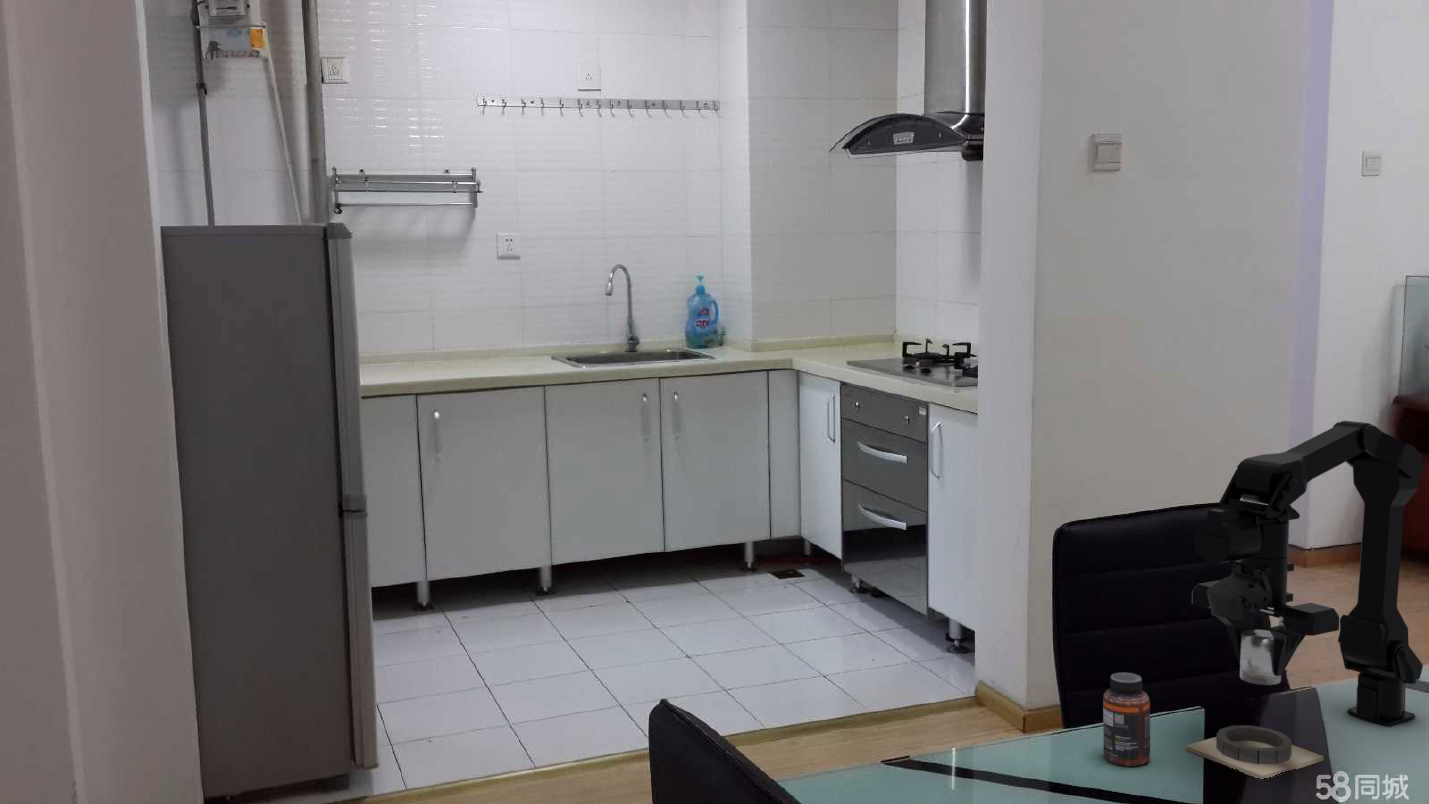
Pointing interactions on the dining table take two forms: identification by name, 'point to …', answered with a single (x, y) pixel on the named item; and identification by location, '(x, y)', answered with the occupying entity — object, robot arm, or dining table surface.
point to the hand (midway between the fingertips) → (1260, 670)
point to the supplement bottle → (1126, 721)
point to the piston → (1257, 657)
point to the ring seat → (1254, 751)
